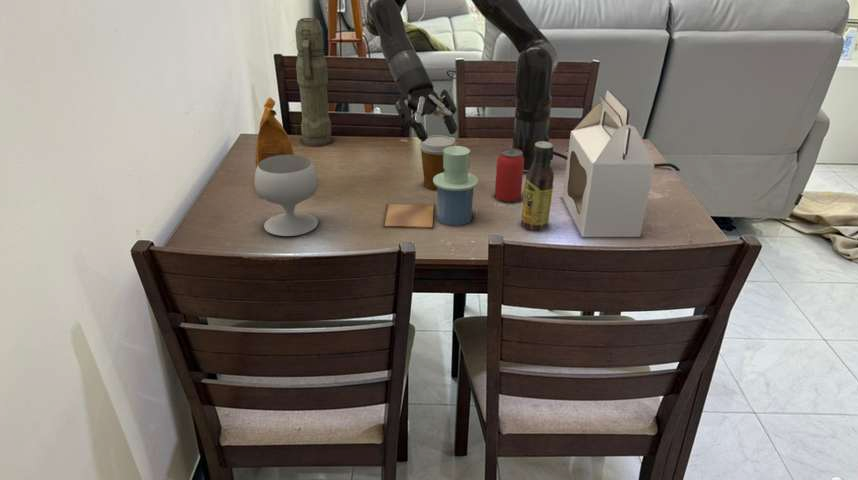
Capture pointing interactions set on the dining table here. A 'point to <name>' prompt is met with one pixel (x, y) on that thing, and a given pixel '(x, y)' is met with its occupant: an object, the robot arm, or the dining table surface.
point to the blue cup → (454, 206)
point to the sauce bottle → (538, 188)
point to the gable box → (607, 173)
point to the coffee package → (271, 136)
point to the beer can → (509, 175)
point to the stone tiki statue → (312, 82)
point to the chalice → (287, 192)
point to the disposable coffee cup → (433, 157)
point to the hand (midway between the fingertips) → (439, 136)
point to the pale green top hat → (455, 170)
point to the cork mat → (409, 216)
